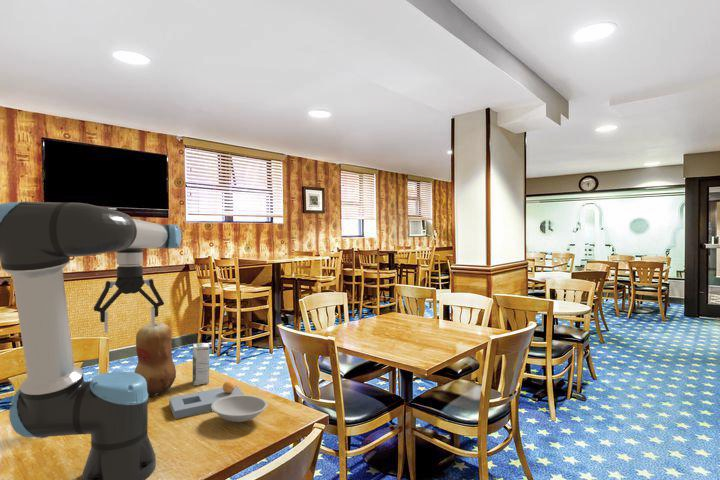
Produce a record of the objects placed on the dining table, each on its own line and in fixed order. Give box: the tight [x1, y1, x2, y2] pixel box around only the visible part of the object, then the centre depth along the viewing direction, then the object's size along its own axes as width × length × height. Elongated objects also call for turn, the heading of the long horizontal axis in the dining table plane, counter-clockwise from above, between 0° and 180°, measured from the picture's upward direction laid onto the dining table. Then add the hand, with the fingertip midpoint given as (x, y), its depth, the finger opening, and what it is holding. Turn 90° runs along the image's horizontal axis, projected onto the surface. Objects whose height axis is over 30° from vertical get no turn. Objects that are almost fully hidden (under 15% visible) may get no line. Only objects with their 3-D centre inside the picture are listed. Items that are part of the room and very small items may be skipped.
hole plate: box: [168, 384, 245, 420], centre depth 137 cm, size 12×22×2 cm, turn 122°
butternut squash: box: [133, 322, 177, 396], centre depth 145 cm, size 14×13×25 cm
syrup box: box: [192, 342, 210, 387], centre depth 157 cm, size 6×6×14 cm
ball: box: [222, 380, 236, 393], centre depth 141 cm, size 4×4×4 cm
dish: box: [211, 394, 268, 423], centre depth 125 cm, size 18×14×5 cm
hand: (130, 329), depth 136 cm, fingers open, 13 cm apart
